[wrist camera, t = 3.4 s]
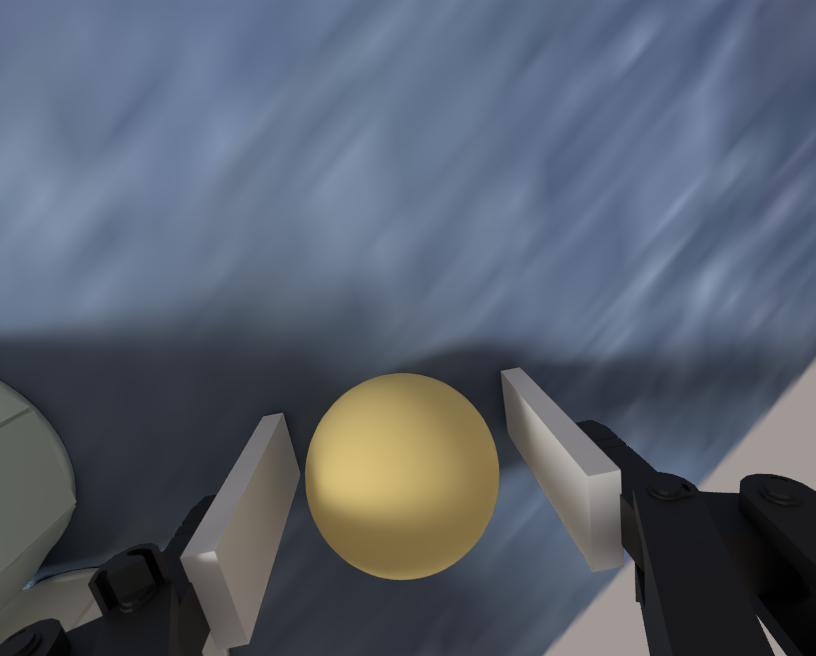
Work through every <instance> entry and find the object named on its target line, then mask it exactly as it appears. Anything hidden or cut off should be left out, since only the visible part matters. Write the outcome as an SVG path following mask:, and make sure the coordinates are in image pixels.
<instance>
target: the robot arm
mask: <svg viewBox="0 0 816 656" xmlns="http://www.w3.org/2000/svg"><path fill="white" fill-rule="evenodd" d="M501 379H502V388H503V396H504V405H505V413H506V421H507V430H508V435H509V436H510V438H511V440H512V441H513V443H514V444H515V446H516V448H517V449H518V451H519V452H520V454H521V456H522V457H523V459H524V461H525V462H526V464H527V465H528V467H529V469H530V470H531V472H532V474H533V475H534V477H535V478H536V480H537V482H538V483H539V485H540V487H541V488H542V490H543V491H544V493H545V495H546V496H547V498H548V500H549V501H550V503H551V504H552V506H553V508H554V509H555V511H556V512H557V514H558V516H559V517H560V519H561V521H562V522H563V524H564V525H565V527H566V529H567V530H568V532H569V534H570V535H571V537H572V538H573V540H574V542H575V543H576V545H577V547H578V548H579V550H580V551H581V553H582V555H583V556H584V558H585V560H586V561H587V563H588V564H589V566H590V568H591V569H592V571H593V572H594V573H595V572H600V571H605V570H609V569H614V568H619V567H624V550H623V547H624V548H625V550H626V551H627V552H628V553H629V555H630V556H631V557H632V559H633V560H634V561H635V586H636V587H635V589H636V602H640V604H641V610H642V615H643V621H644V626H645V631H646V636H647V642H648V647H649V653H650V656H775V655H774V653H773V651H772V648H771V646H770V644H769V642H768V639H767V638H766V635H765V633H764V631H763V628H762V627H761V624H760V622H759V620H758V618H757V616H758V617H759V619H760V620H761V621H762V623H763V624H764V625H765V627H766V628H767V629H768V631H769V632H770V634H771V635H772V636H773V637H774V639H775V640H776V641H777V643H778V644H779V646H780V647H781V648H782V650H783V651H784V652H785V654H786V655H787V656H816V491H814V490H813V489H811V488H809V487H808V486H806V485H804V484H803V483H800V482H798V481H795V480H792V479H790V478H787V477H783V476H778V475H773V474H754V475H748V476H746V477H745V478H743V479H742V480H741V481H740V493H717V492H702V491H699V490H698V489H697V488H696V486H695V485H693V484H692V483H690V482H689V481H687V480H686V479H684V478H681V477H679V476H676V475H673V474H668V473H662V472H657V471H656V470H655V469H654V468H653V467H652V466H650V465H649V464H648V463H647V462H646V461H645V460H644V459H643V458H641V457H640V456H639V455H638V454H637V453H636V452H635V451H634V450H632V449H631V448H630V447H629V446H627V445H626V443H625V442H623V441H622V440H621V439H620V438H618V436H617V435H616V434H614V433H613V432H612V431H611V430H610V429H609V428H608V427H606V426H604V425H602V424H600V423H597V422H595V421H593V420H587V421H582V422H577V423H574V422H573V421H572V420H571V419H570V418H569V417H568V416H567V415H566V414H565V413H564V412H563V411H562V410H561V409H560V408H559V407H558V406H557V405H556V404H555V403H554V402H553V401H552V400H551V398H550V397H549V396H548V395H547V394H546V393H545V392H544V391H543V390H542V389H541V388H540V387H539V386H538V385H537V384H536V383H535V382H534V381H533V380H532V379H531V378H530V377H529V376H528V375H527V374H526V373H525V372H524V371H523V370H522V369H521V368H520V367H519V368H514V369H508V370H503V371H501ZM300 475H301V474H300V471H299V467H298V463H297V460H296V456H295V453H294V449H293V446H292V442H291V439H290V435H289V432H288V428H287V425H286V421H285V418H284V414H283V413H279V414H273V415H268V416H263V418H262V419H261V421H260V423H259V424H258V426H257V428H256V429H255V431H254V433H253V435H252V436H251V438H250V440H249V441H248V443H247V445H246V446H245V448H244V450H243V452H242V453H241V455H240V457H239V458H238V460H237V462H236V463H235V465H234V467H233V469H232V470H231V472H230V474H229V475H228V477H227V479H226V480H225V482H224V484H223V486H222V487H221V489H220V491H219V492H218V494H216V495H211V496H206V497H204V498H203V499H202V500H201V501H200V502H199V503H198V504H197V505H196V506H195V507H193V508H192V509H191V510H190V512H189V513H188V515H187V517H186V518H185V520H184V521H183V523H182V526H180V527H179V529H178V530H177V532H176V534H175V537H174V538H172V540H171V541H170V543H169V544H168V546H167V547H166V549H165V550H164V552H163V554H162V555H161V552H160V550H159V547H158V546H157V545H155V544H152V543H146V544H139V545H136V546H133V547H131V548H128V549H126V550H124V551H122V552H121V553H119V554H117V555H115V556H114V557H112V558H111V559H110V560H108V561H107V562H106V563H104V564H103V565H102V566H101V567H100V568H99V569H98V570H97V571H96V572H95V573H94V574H93V576H92V578H91V579H90V581H89V583H88V586H89V588H90V590H91V593H92V595H93V597H94V599H95V601H96V603H97V605H98V607H99V609H100V611H101V613H102V616H101V617H99V618H97V619H94V620H92V621H90V622H88V623H85V624H83V625H81V626H79V627H76V628H74V629H72V630H70V631H67V632H65V630H64V628H63V626H62V625H61V623H60V621H59V620H57V619H53V618H50V619H45V620H40V621H37V622H35V623H33V624H31V625H28V626H26V627H24V628H22V629H21V630H19V631H18V632H15V633H14V634H12V635H11V636H10V637H8V638H7V639H6V640H5V641H4V642H2V643H1V644H0V656H204V655H203V653H202V650H203V648H204V645H205V643H206V640H207V638H208V636H209V633H210V634H211V637H212V639H213V642H214V644H215V647H216V649H217V651H218V650H222V649H227V648H232V647H237V646H242V645H247V644H249V643H250V639H251V636H252V633H253V630H254V626H255V623H256V620H257V616H258V613H259V610H260V607H261V603H262V600H263V597H264V593H265V590H266V587H267V583H268V580H269V577H270V574H271V570H272V567H273V564H274V560H275V557H276V554H277V551H278V547H279V544H280V541H281V537H282V534H283V531H284V528H285V524H286V521H287V518H288V514H289V511H290V508H291V504H292V501H293V498H294V495H295V491H296V488H297V485H298V481H299V478H300Z"/></svg>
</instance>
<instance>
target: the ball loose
mask: <svg viewBox="0 0 816 656" xmlns="http://www.w3.org/2000/svg"><path fill="white" fill-rule="evenodd" d="M499 476H500V475H499V462H498V456H497V451H496V446H495V443H494V441H493V438H492V435H491V433H490V430H489V428H488V426H487V425H486V423H485V421H484V419H483V418H482V416H481V415H480V414H479V412H478V411H477V410H476V408H475V407H474V406H473V405H472V404H471V403H470V402H469V401H468V400H467V399H466V398H465V397H464V396H463V395H462V394H460V393H459V392H458V391H456V390H455V389H454V388H452V387H451V386H449V385H447V384H445V383H443V382H441V381H439V380H436V379H433V378H431V377H427V376H423V375H419V374H411V373H394V374H387V375H382V376H378V377H374V378H372V379H369V380H367V381H364V382H362V383H361V384H359V385H357V386H355V387H353V388H352V389H350V390H349V391H347V392H346V393H345V394H343V395H342V396H341V397H340V398H339V399H338V400H337V401H336V402H335V403H334V404H333V405H332V406H331V407H330V409H329V410H328V411H327V412H326V414H325V415H324V416H323V418H322V419H321V421H320V423H319V424H318V426H317V428H316V431H315V433H314V435H313V438H312V440H311V442H310V446H309V450H308V454H307V460H306V468H305V483H306V495H307V500H308V504H309V508H310V511H311V514H312V516H313V519H314V522H315V523H316V525H317V527H318V529H319V531H320V532H321V534H322V536H323V538H324V539H325V540H326V542H327V543H328V544H329V546H330V547H331V548H332V549H333V550H334V551H335V552H336V553H337V554H338V555H339V556H340V557H341V558H343V559H344V560H345V561H347V562H348V563H349V564H351V565H353V566H354V567H356V568H358V569H360V570H362V571H364V572H366V573H369V574H371V575H374V576H377V577H381V578H386V579H394V580H410V579H417V578H422V577H426V576H430V575H433V574H435V573H438V572H440V571H442V570H444V569H446V568H448V567H450V566H451V565H453V564H454V563H456V562H457V561H458V560H460V559H461V558H462V557H463V556H464V555H465V554H467V553H468V552H469V551H470V550H471V549H472V548H473V546H474V545H475V544H476V543H477V542H478V540H479V539H480V537H481V536H482V534H483V533H484V531H485V529H486V527H487V525H488V524H489V522H490V519H491V517H492V514H493V512H494V508H495V505H496V501H497V497H498V490H499Z"/></svg>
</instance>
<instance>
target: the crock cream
mask: <svg viewBox="0 0 816 656" xmlns="http://www.w3.org/2000/svg"><path fill="white" fill-rule="evenodd" d="M98 569H99V568H88V569H82V570H75V571H70V572H66V573H62V574H58V575H55V576H53V577H50V578H48V579H45V580H43V581H41V582H39V583H37V584H35V585H33V586H31V587H30V588H28V589H24V590H21V591H20V592H19V593H18V594H17V595H16V596H15V597H14V598H13V599H12V600H11V601H10V602H9V603H8V604H7V605H6V606H5V607H4V608H3V609H2V610H1V611H0V644H1V643H2V642H4V641H5V640H6V639H7V638H8V637H10V636H11V635H12V634H14V633H15V632H18V631H19V630H21V629H22V628H24V627H26V626H28V625H31V624H33V623H35V622H37V621H40V620H45V619H50V618H53V619H57V620H59V621H60V623H61V625H62V626H63V628H64V630H65V632H67V631H70V630H72V629H74V628H76V627H79V626H81V625H83V624H85V623H88V622H90V621H92V620H94V619H97V618H99V617H101V616H102V613H101V611H100V609H99V607H98V605H97V603H96V601H95V599H94V597H93V595H92V593H91V590H90V588H89V586H88V583H89V581H90V579H91V578H92V576H93V574H94V573H95V572H96V571H97V570H98ZM202 653H203V655H204V656H230V652H229V648H227V649H222V650H218V651H217V649H216V647H215V644H214V642H213V639H212V637H211V634H210V633H209V636H208V638H207V640H206V643H205V645H204V648H203V650H202Z"/></svg>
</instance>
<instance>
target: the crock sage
mask: <svg viewBox="0 0 816 656" xmlns="http://www.w3.org/2000/svg"><path fill="white" fill-rule="evenodd" d="M75 497H76V487H75V477H74V472H73V467H72V463H71V461H70V458H69V455H68V453H67V450H66V448H65V446H64V444H63V443H62V441H61V439H60V437H59V435H58V434H57V432H56V431H55V430H54V428H53V427H52V425H51V424H50V423H49V421H48V420H47V419H46V418H45V417H44V416H43V415H42V414H41V412H40V411H39V410H38V409H37V408H36V407H35V406H34V405H33V404H31V403H30V402H29V401H28V400H27V399H26V398H25V397H24V396H22V395H21V394H20V393H18V392H17V391H16V390H14V389H13V388H11V387H10V386H8V385H7V384H6V383H4V382H2V381H1V380H0V611H1V610H2V609H3V608H4V607H5V606H6V605H7V604H8V603H9V602H10V601H11V600H12V599H13V598H14V597H15V596H16V595H17V594H18V593H19V592H20V591H21V590H22V589H23V588H24V587H25V586H26V584H27V583H28V582H29V581H30V580H31V579H32V578H33V577H34V576H35V574H36V572H37V571H38V569H39V567H40V566H41V564H42V562H43V561H44V559H45V557H46V556H47V554H48V552H49V551H50V549H51V548H52V547H53V546H54V545H55V544H56V543H57V542H58V541H59V539H60V538H61V537H62V535H63V534H64V532H65V530H66V528H67V526H68V524H69V522H70V520H71V517H72V513H73V511H74V509H75V507H76V505H75V503H76V499H75Z"/></svg>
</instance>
